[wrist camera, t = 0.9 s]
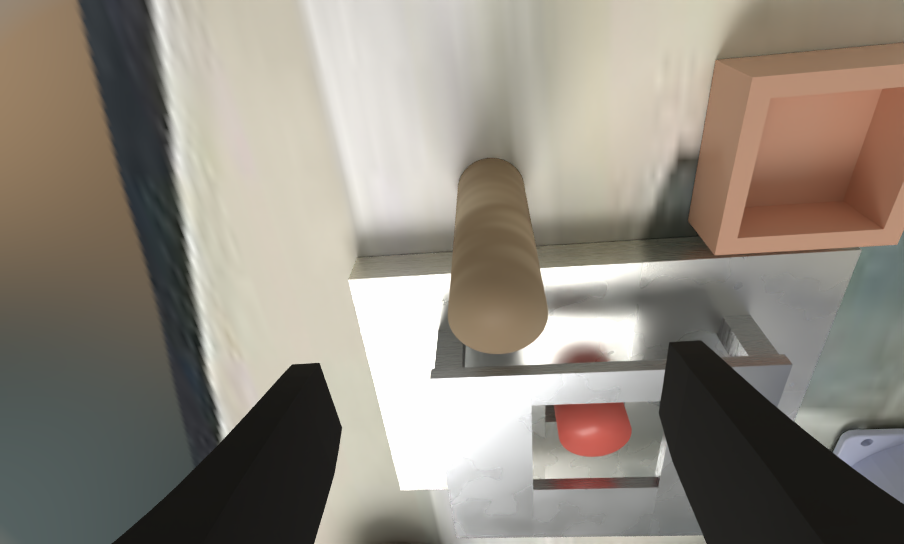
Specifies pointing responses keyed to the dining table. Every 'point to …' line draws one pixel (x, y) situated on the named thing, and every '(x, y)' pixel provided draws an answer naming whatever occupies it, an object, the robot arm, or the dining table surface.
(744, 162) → the holder
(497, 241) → the stylus
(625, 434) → the button
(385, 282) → the grey fixture board
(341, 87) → the dining table surface
